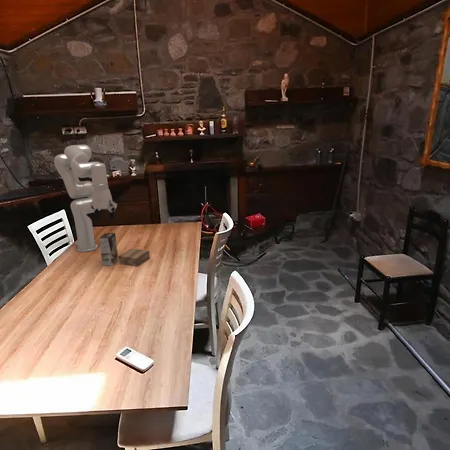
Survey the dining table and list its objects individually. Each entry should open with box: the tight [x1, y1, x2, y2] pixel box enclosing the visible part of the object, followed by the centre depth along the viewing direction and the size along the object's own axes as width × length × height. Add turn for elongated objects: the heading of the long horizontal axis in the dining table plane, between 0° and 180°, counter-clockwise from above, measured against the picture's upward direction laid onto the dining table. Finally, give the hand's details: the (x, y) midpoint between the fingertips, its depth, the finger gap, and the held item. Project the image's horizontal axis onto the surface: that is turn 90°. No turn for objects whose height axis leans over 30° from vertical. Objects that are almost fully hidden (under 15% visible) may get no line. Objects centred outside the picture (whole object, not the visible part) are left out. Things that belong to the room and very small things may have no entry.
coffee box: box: [98, 232, 119, 267], centre depth 195 cm, size 9×6×16 cm
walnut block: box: [118, 248, 151, 267], centre depth 198 cm, size 12×12×5 cm
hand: (105, 218), depth 190 cm, fingers open, 9 cm apart
